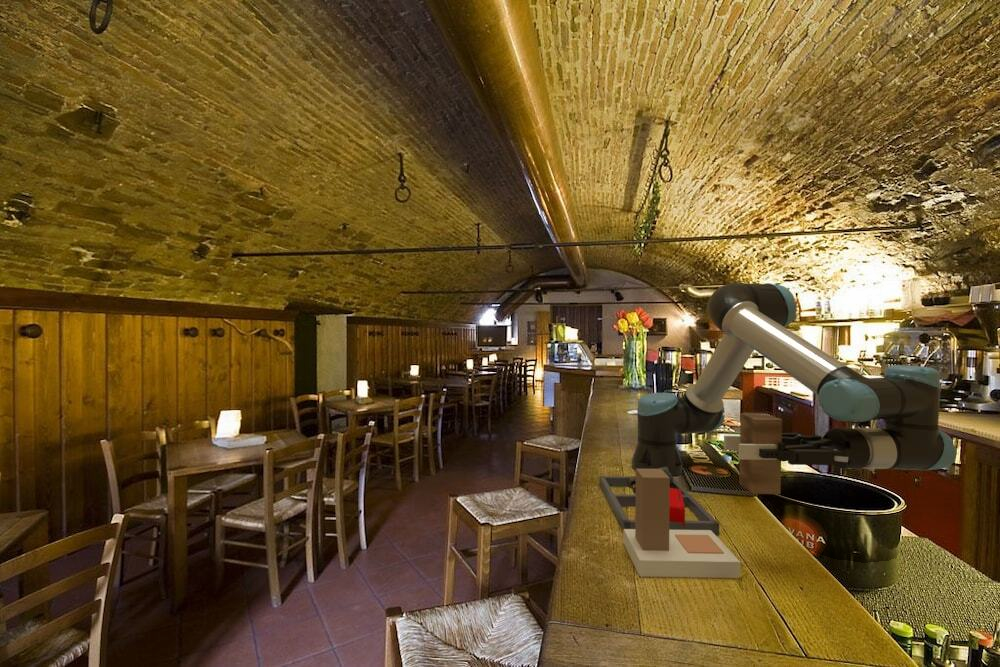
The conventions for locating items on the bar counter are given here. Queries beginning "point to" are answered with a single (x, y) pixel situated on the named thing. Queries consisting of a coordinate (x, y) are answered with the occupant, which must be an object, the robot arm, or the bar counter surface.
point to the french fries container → (676, 506)
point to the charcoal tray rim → (630, 500)
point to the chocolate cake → (633, 480)
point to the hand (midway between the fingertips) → (732, 446)
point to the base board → (671, 538)
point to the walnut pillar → (760, 472)
